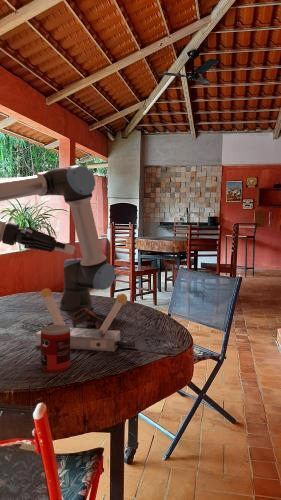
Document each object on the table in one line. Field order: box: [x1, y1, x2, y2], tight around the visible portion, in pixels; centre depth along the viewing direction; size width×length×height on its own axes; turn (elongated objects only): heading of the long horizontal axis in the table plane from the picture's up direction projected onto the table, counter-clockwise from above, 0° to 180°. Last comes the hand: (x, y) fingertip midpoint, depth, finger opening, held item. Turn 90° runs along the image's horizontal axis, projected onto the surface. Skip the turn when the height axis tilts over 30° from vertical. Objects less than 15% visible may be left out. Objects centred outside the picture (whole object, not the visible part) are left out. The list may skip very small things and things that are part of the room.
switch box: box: [35, 327, 137, 353], centre depth 123 cm, size 10×32×4 cm, turn 81°
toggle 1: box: [40, 287, 67, 326], centre depth 125 cm, size 4×4×15 cm
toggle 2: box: [98, 293, 128, 335], centre depth 122 cm, size 4×4×15 cm
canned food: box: [40, 324, 71, 373], centre depth 104 cm, size 8×8×11 cm
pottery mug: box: [70, 308, 100, 330], centre depth 145 cm, size 12×10×8 cm
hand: (74, 250), depth 130 cm, fingers closed
